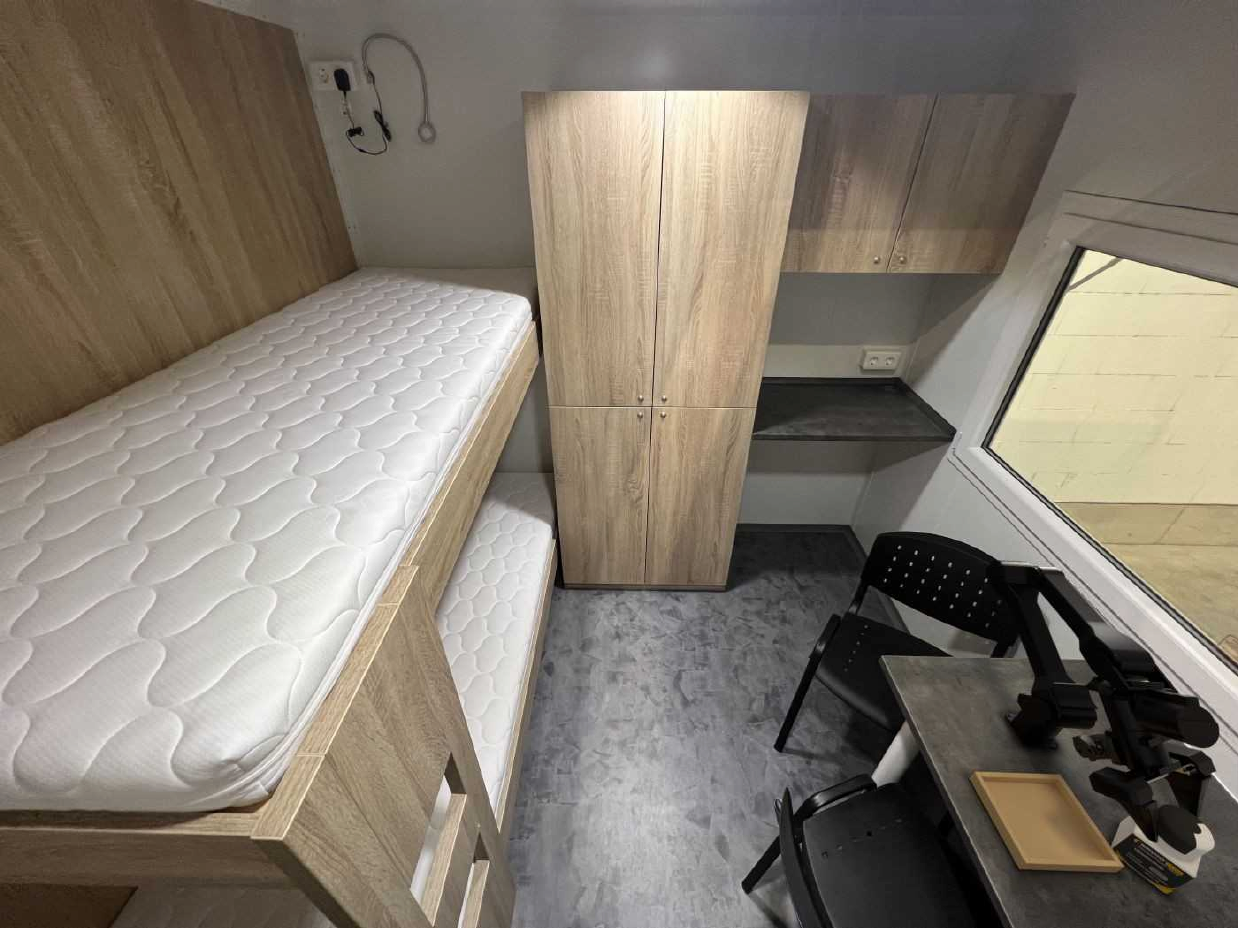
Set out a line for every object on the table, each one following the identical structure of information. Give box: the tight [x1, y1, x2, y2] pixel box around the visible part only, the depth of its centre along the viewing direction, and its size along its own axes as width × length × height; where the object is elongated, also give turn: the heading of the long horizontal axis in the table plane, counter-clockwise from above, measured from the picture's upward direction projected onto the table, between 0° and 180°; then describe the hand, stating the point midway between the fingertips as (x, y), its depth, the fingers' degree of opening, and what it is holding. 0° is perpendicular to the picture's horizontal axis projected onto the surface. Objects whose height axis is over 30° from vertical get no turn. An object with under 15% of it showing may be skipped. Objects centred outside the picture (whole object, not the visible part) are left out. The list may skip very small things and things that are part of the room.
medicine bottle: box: [1110, 803, 1216, 895], centre depth 76 cm, size 7×7×12 cm
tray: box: [969, 771, 1125, 874], centre depth 83 cm, size 16×14×2 cm
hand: (1172, 831), depth 75 cm, fingers open, 9 cm apart
